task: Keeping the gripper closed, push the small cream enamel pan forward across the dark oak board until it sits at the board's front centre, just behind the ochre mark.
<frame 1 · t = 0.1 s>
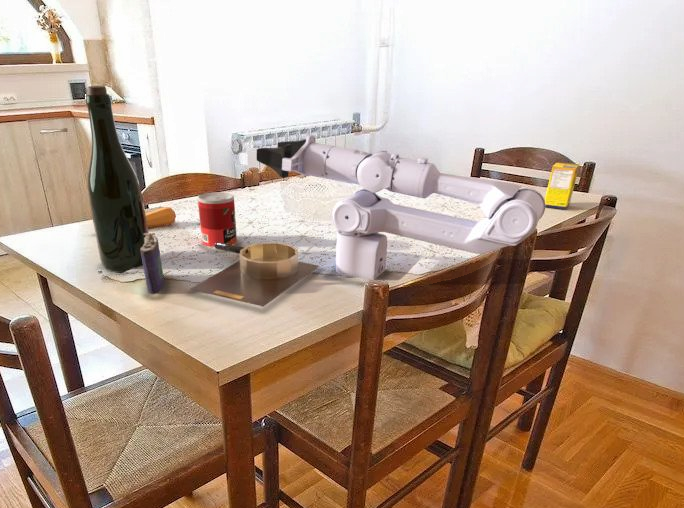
hand: (268, 151, 102), 22 cm above the table, tool horizontal, fingers open, 7 cm apart
board: (257, 281, 103), on the table
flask: (157, 289, 100), on the table
canned food: (219, 246, 121), on the table
green wine bottle: (128, 265, 111), on the table
pan: (269, 269, 105), point 1 cm above the table, touching board
supplement box: (555, 207, 147), on the table
carrot: (137, 229, 132), on the table
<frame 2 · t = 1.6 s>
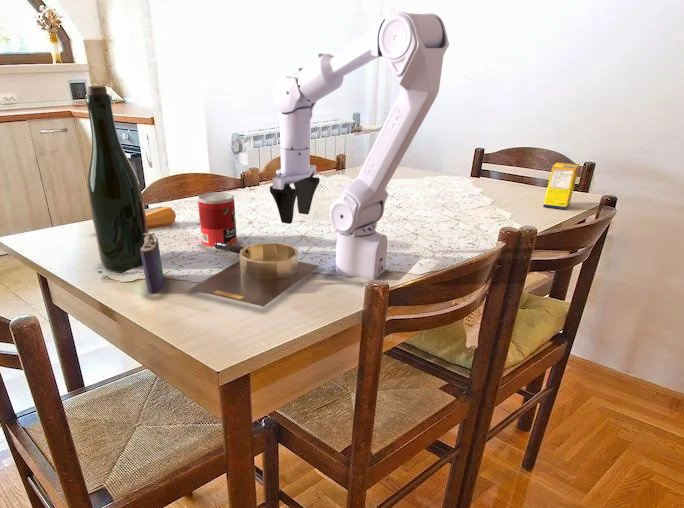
hand: (295, 218, 110), 8 cm above the table, tool pointing down, fingers open, 7 cm apart
nothing on the table moved.
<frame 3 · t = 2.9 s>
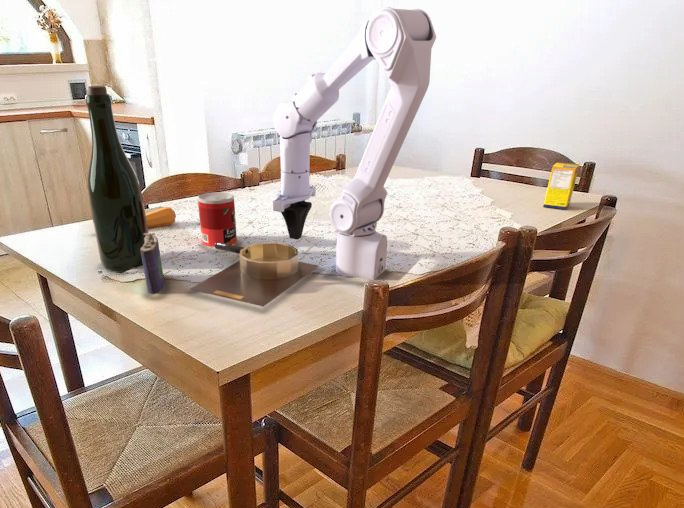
hand: (295, 238, 112), 4 cm above the table, tool pointing down, fingers closed
nothing on the table moved.
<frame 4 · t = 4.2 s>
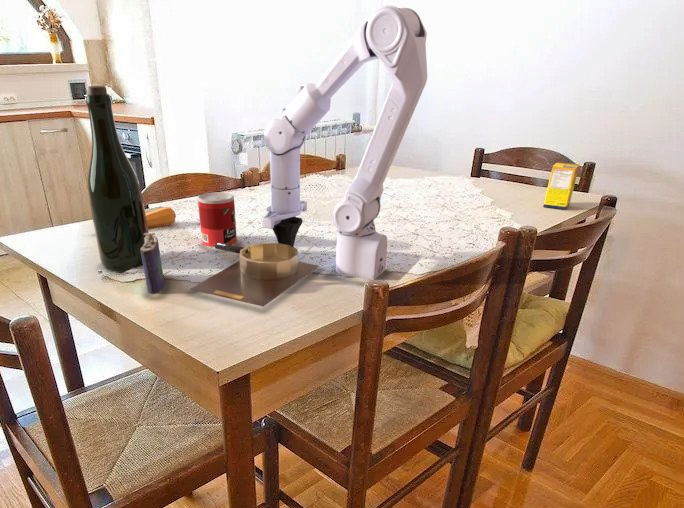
hand: (286, 253, 110), 2 cm above the table, tool pointing down, fingers closed
pan: (269, 269, 105), point 1 cm above the table, touching board, gripper
everything else where it was.
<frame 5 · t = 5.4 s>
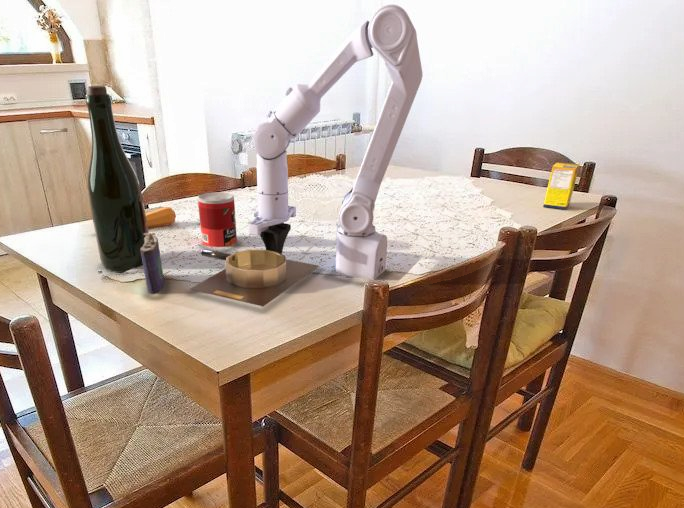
hand: (274, 260, 107), 2 cm above the table, tool pointing down, fingers closed
pan: (256, 276, 102), point 1 cm above the table, touching gripper
everything else where it was.
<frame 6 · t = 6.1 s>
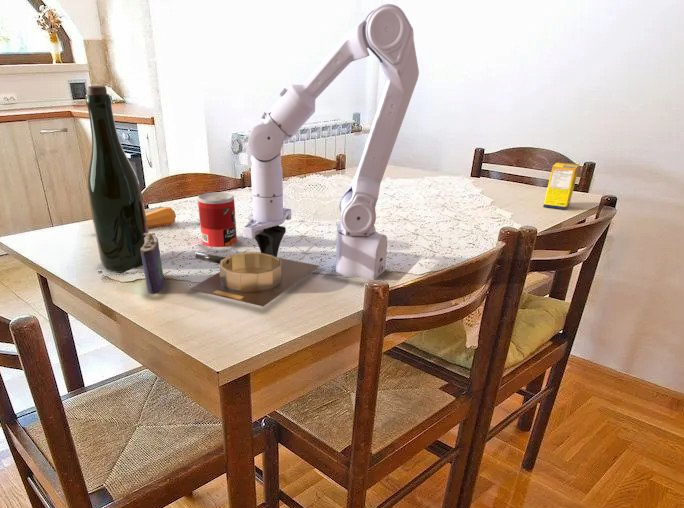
hand: (269, 264, 105), 2 cm above the table, tool pointing down, fingers closed
pan: (251, 280, 101), point 1 cm above the table, touching board, gripper
everything else where it was.
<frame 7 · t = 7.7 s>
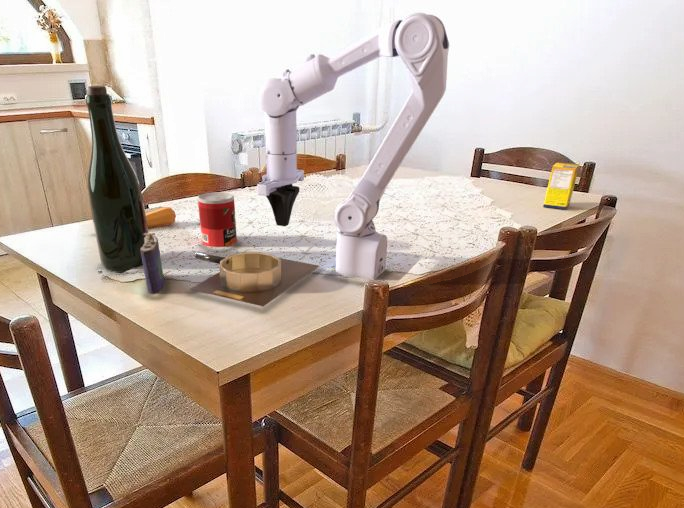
hand: (282, 224, 106), 8 cm above the table, tool pointing down, fingers closed
pan: (251, 280, 101), point 1 cm above the table, touching board
everything else where it was.
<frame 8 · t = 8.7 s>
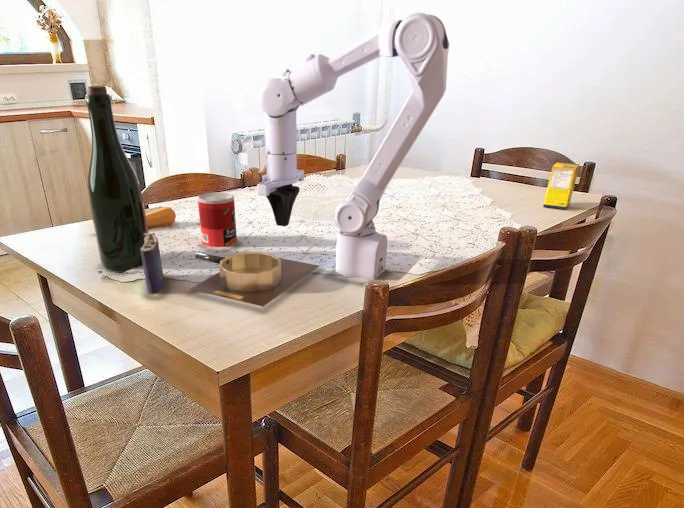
hand: (282, 224, 106), 8 cm above the table, tool pointing down, fingers closed
nothing on the table moved.
at the end: pan 0.3 cm from the target spot, point 1.0 cm above the table; pan tilted 0°; pan moved 6.7 cm from its start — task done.
